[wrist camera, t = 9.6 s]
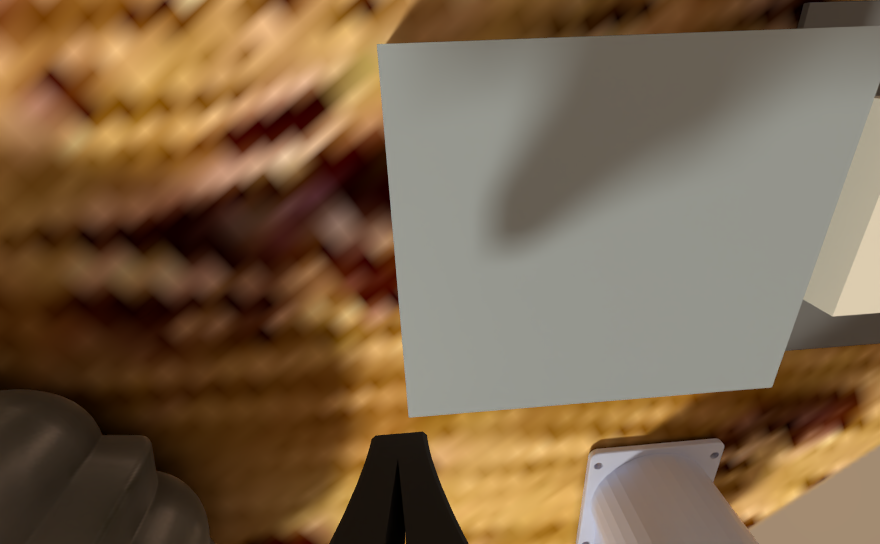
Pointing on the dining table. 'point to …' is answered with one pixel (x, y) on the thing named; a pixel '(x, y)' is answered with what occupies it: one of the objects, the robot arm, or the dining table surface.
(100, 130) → the dining table surface
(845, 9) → the mat
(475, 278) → the grey flat block
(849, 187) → the cream rectangular block
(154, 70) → the dining table surface
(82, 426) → the bundt pan
